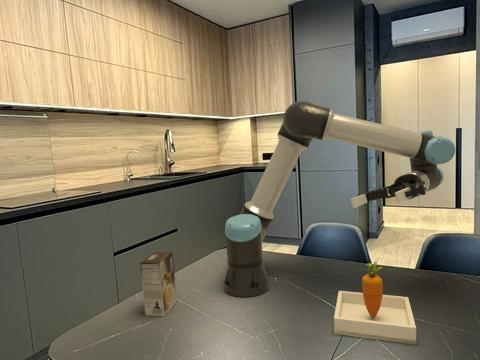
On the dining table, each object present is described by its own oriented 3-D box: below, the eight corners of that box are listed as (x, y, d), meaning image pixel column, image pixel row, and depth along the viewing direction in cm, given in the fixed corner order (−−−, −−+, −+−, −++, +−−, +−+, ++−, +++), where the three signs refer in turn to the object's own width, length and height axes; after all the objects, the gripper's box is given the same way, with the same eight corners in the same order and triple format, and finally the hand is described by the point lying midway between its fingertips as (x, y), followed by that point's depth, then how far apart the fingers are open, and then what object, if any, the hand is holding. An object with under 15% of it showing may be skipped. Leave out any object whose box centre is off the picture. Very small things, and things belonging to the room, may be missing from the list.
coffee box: (158, 301, 108) (153, 251, 106) (177, 302, 107) (173, 251, 105) (144, 316, 99) (139, 261, 97) (165, 317, 98) (160, 262, 96)
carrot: (373, 311, 92) (373, 257, 90) (387, 320, 87) (387, 263, 86) (358, 315, 90) (357, 260, 89) (371, 325, 86) (370, 266, 84)
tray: (334, 333, 85) (333, 318, 84) (339, 304, 99) (338, 290, 99) (416, 344, 78) (416, 328, 78) (408, 311, 93) (408, 297, 93)
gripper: (458, 191, 96) (423, 210, 84) (377, 201, 116) (339, 217, 103) (451, 165, 96) (415, 179, 84) (372, 179, 116) (333, 193, 104)
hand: (373, 200), depth 93 cm, fingers open, 13 cm apart
